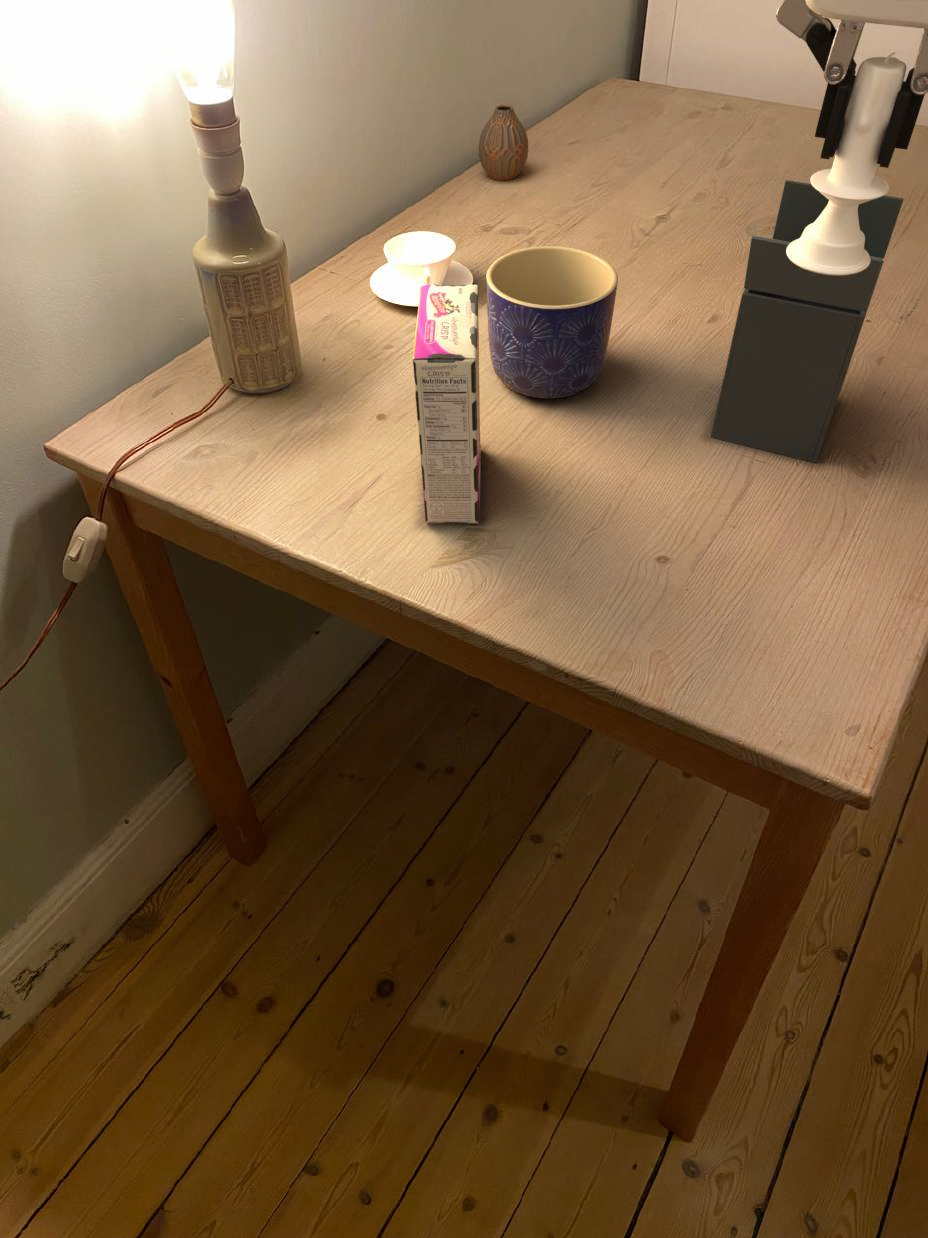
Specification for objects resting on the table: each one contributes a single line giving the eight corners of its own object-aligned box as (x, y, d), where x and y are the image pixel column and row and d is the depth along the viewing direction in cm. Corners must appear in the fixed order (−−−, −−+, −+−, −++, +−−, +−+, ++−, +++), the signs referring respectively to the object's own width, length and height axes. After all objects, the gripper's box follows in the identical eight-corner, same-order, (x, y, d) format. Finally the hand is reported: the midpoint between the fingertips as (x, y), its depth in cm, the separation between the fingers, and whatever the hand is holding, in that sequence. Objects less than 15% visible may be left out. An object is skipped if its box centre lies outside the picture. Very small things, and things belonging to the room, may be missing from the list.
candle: (886, 259, 60) (957, 51, 51) (837, 285, 57) (904, 72, 49) (817, 231, 63) (874, 30, 54) (768, 255, 60) (819, 49, 52)
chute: (816, 463, 83) (885, 253, 69) (710, 437, 86) (755, 231, 72) (838, 398, 90) (905, 196, 76) (739, 376, 93) (786, 177, 79)
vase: (491, 162, 133) (492, 95, 126) (535, 169, 130) (537, 102, 124) (470, 179, 129) (469, 111, 122) (515, 187, 126) (516, 119, 120)
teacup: (390, 325, 101) (386, 279, 97) (357, 278, 109) (353, 234, 105) (489, 304, 104) (489, 259, 100) (451, 259, 112) (450, 216, 108)
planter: (523, 424, 88) (527, 319, 80) (465, 363, 96) (463, 262, 88) (630, 390, 92) (644, 287, 84) (566, 334, 99) (573, 234, 91)
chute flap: (866, 309, 72) (865, 311, 72) (744, 285, 75) (743, 288, 75) (882, 258, 68) (881, 261, 68) (752, 235, 71) (751, 238, 70)
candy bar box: (427, 448, 86) (418, 282, 74) (481, 448, 86) (480, 281, 74) (421, 526, 78) (410, 355, 66) (479, 526, 78) (479, 355, 66)
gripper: (1172, -271, 42) (1004, 152, 55) (812, -273, 47) (738, 117, 60) (1183, -258, 37) (997, 200, 51) (783, -263, 42) (710, 157, 55)
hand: (857, 152), depth 55 cm, fingers closed on candle, 2 cm apart
